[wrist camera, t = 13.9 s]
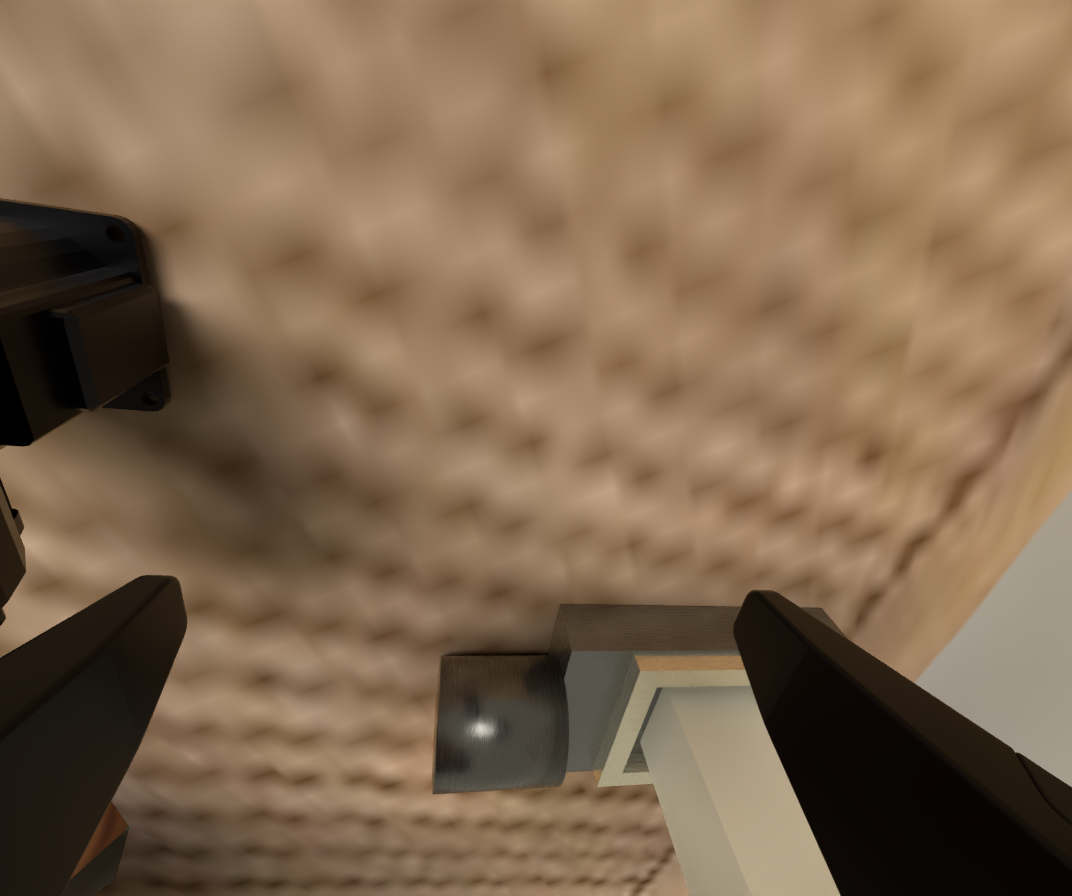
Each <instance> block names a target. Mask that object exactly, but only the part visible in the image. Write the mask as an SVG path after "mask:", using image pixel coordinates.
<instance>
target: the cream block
mask: <svg viewBox="0 0 1072 896" xmlns="http://www.w3.org/2000/svg"><path fill="white" fill-rule="evenodd" d="M640 744H641V747H642V750H643V753H644V756H645V759H646V762H647V765H648V769H649V772H650V775H651V778H652V781H653V784H654V787H655V790H656V793H657V796H658V799H659V802H660V806H661V809H662V812H663V815H664V818H665V821H666V824H667V827H668V830H669V833H670V836H671V839H672V842H673V846H674V849H675V852H676V855H677V858H678V861H679V864H680V867H681V870H682V873H683V876H684V879H685V883H686V886H687V889H688V892H689V895H690V896H840V894H839V891H838V889H837V887H836V885H835V882H834V880H833V878H832V876H831V873H830V871H829V869H828V867H827V864H826V862H825V860H824V858H823V855H822V853H821V851H820V849H819V847H818V844H817V842H816V840H815V838H814V835H813V833H812V831H811V829H810V826H809V824H808V822H807V820H806V817H805V815H804V813H803V811H802V808H801V806H800V804H799V802H798V799H797V797H796V795H795V793H794V790H793V788H792V786H791V784H790V781H789V779H788V777H787V775H786V773H785V770H784V768H783V766H782V764H781V761H780V759H779V757H778V755H777V752H776V750H775V748H774V746H773V743H772V741H771V739H770V737H769V734H768V732H767V729H766V727H765V725H764V722H763V719H762V717H761V714H760V711H759V709H758V706H757V703H756V700H755V697H754V694H753V691H752V688H751V686H708V687H663V688H662V690H661V693H660V695H659V697H658V700H657V702H656V705H655V707H654V709H653V712H652V714H651V717H650V719H649V721H648V724H647V726H646V729H645V731H644V733H643V736H642V738H641V741H640Z"/></svg>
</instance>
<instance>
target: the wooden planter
mask: <svg viewBox="0 0 1072 896" xmlns="http://www.w3.org/2000/svg"><path fill="white" fill-rule="evenodd" d="M128 829H129V826H128V824H127V823H126V822H125V820H124V819H123V817H122V816H121V815H120V813H119V812H118V810H117V809H116V808H115V806H114V805H113V803H112V802H110V804H109V806H108V808H107V810H106V812H105V814H104V816H103V817H102V819H101V821H100V823H99V825H98V827H97V829H96V831H95V833H94V835H93V836H92V838H91V840H90V842H89V844H88V846H87V848H86V850H85V852H84V854H83V856H82V857H81V859H80V861H79V863H78V865H77V867H76V869H75V871H74V873H73V875H72V876H71V878H70V880H69V882H68V884H67V886H66V888H65V890H64V892H63V894H62V895H61V896H94V895H95V894H97V893H98V892H99V891H101V890H102V889H103V888H105V887H106V886H107V885H109V884H110V883H111V882H113V881H114V880H115V877H116V874H117V870H118V866H119V863H120V859H121V855H122V851H123V848H124V844H125V840H126V837H127V833H128Z"/></svg>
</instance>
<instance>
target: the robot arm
mask: <svg viewBox="0 0 1072 896" xmlns="http://www.w3.org/2000/svg"><path fill="white" fill-rule="evenodd" d="M115 226H117V227H119V228H120V229H121V230H122V231H123V233H124V235H125V239H124V241H121V240H119V239H118V238H117V237H116V236H115V234H114V232H113V231H114V227H115ZM168 362H169V357H168V351H167V346H166V340H165V335H164V329H163V324H162V318H161V313H160V307H159V302H158V296H157V293H156V291H155V290H154V289H153V288H152V287H151V286H150V282H149V277H148V271H147V266H146V261H145V255H144V250H143V245H142V239H141V235H140V232H139V230H138V228H137V227H136V225H135V224H134V223H133V222H132V221H130V220H129V219H127V218H125V217H122V216H118V215H111V214H104V213H97V212H90V211H84V210H77V209H70V208H63V207H56V206H50V205H43V204H36V203H29V202H22V201H16V200H9V199H2V198H0V449H2V448H4V447H5V446H7V445H9V446H29V445H31V444H33V443H34V442H36V441H37V440H39V439H41V438H42V437H44V436H45V435H47V434H49V433H50V432H52V431H54V430H55V429H57V428H58V427H60V426H62V425H63V424H65V423H67V422H68V421H70V420H71V419H73V418H75V417H76V416H78V415H79V414H81V413H83V412H84V411H95V410H97V409H99V408H100V407H102V408H115V409H127V410H140V411H159V410H161V409H163V408H164V407H165V406H166V405H168V403H169V402H170V399H171V395H170V390H169V384H168V379H167V373H166V368H165V365H166V364H168ZM147 392H150V393H153V394H154V395H155V396H156V397H157V399H158V400H157V401H154V400H152V399H151V398H149V396H148V394H147ZM23 529H24V525H23V522H22V519H21V517H20V514H19V511H18V510H16V509H12V507H11V505H10V502H9V499H8V497H7V494H6V492H5V489H4V486H3V484H2V481H1V479H0V625H2V623H3V622H4V620H5V619H6V616H5V612H4V610H3V608H2V607H3V606H4V605H5V604H6V603H7V602H8V601H9V599H10V597H11V596H12V594H13V592H14V591H15V589H16V587H17V586H18V584H19V582H20V581H21V579H22V578H23V576H24V574H25V573H26V562H25V548H24V545H23V543H22V540H21V537H20V535H21V533H22V531H23ZM186 628H187V614H186V610H185V605H184V600H183V596H182V591H181V586H180V583H179V581H178V579H177V578H176V577H173V576H163V575H145V576H140V577H138V578H136V579H134V580H132V581H131V582H129V583H127V584H126V585H124V586H122V587H120V588H119V589H117V590H115V591H114V592H112V593H110V594H108V595H107V596H105V597H103V598H102V599H100V600H98V601H97V602H95V603H93V604H91V605H90V606H88V607H86V608H85V609H83V610H81V611H79V612H78V613H76V614H74V615H73V616H71V617H69V618H68V619H66V620H64V621H62V622H61V623H59V624H57V625H56V626H54V627H52V628H50V629H49V630H47V631H45V632H44V633H42V634H40V635H39V636H37V637H35V638H33V639H32V640H30V641H28V642H27V643H25V644H23V645H21V646H20V647H18V648H16V649H15V650H13V651H11V652H10V653H8V654H6V655H4V656H3V657H1V658H0V896H61V895H62V894H63V892H64V890H65V888H66V886H67V884H68V882H69V880H70V878H71V876H72V875H73V873H74V871H75V869H76V867H77V865H78V863H79V861H80V859H81V857H82V856H83V854H84V852H85V850H86V848H87V846H88V844H89V842H90V840H91V838H92V836H93V835H94V833H95V831H96V829H97V827H98V825H99V823H100V821H101V819H102V817H103V816H104V814H105V812H106V810H107V808H108V806H109V804H110V802H111V800H112V798H113V797H114V795H115V793H116V791H117V789H118V787H119V785H120V783H121V781H122V779H123V778H124V776H125V774H126V772H127V770H128V768H129V766H130V764H131V762H132V760H133V758H134V756H135V754H136V752H137V750H138V748H139V746H140V744H141V742H142V739H143V737H144V735H145V732H146V730H147V728H148V725H149V723H150V720H151V718H152V715H153V713H154V710H155V708H156V705H157V703H158V700H159V698H160V695H161V693H162V690H163V688H164V685H165V683H166V680H167V678H168V675H169V673H170V670H171V668H172V665H173V663H174V660H175V658H176V656H177V653H178V651H179V648H180V646H181V643H182V641H183V638H184V635H185V632H186ZM733 634H734V638H735V641H736V644H737V647H738V650H739V653H740V656H741V659H742V662H743V665H744V668H745V671H746V674H747V677H748V679H749V682H750V685H751V688H752V691H753V694H754V697H755V700H756V703H757V706H758V709H759V711H760V714H761V717H762V719H763V722H764V725H765V727H766V729H767V732H768V734H769V737H770V739H771V741H772V743H773V746H774V748H775V750H776V752H777V755H778V757H779V759H780V761H781V764H782V766H783V768H784V770H785V773H786V775H787V777H788V779H789V781H790V784H791V786H792V788H793V790H794V793H795V795H796V797H797V799H798V802H799V804H800V806H801V808H802V811H803V813H804V815H805V817H806V820H807V822H808V824H809V826H810V829H811V831H812V833H813V835H814V838H815V840H816V842H817V844H818V847H819V849H820V851H821V853H822V855H823V858H824V860H825V862H826V864H827V867H828V869H829V871H830V873H831V876H832V878H833V880H834V882H835V885H836V887H837V889H838V891H839V894H840V896H1072V787H1070V786H1069V785H1067V784H1066V783H1064V782H1063V781H1061V780H1060V779H1058V778H1056V777H1055V776H1053V775H1052V774H1050V773H1049V772H1047V771H1046V770H1044V769H1043V768H1041V767H1040V766H1038V765H1037V764H1035V763H1034V762H1032V761H1031V760H1029V759H1028V758H1026V757H1025V756H1023V755H1022V754H1020V753H1015V752H1014V750H1013V749H1012V748H1011V747H1009V746H1008V745H1007V744H1005V743H1003V742H1002V741H1001V740H999V739H998V738H996V737H995V736H993V735H992V734H990V733H988V732H987V731H985V730H984V729H982V728H981V727H979V726H978V725H976V724H975V723H973V722H972V721H970V720H969V719H967V718H966V717H964V716H963V715H961V714H960V713H958V712H957V711H955V710H953V709H952V708H951V707H949V706H948V705H946V704H945V703H943V702H942V701H940V700H939V699H937V698H936V697H934V696H932V695H931V694H930V693H928V692H927V691H925V690H923V689H922V688H921V687H919V686H918V685H916V684H915V683H913V682H912V681H910V680H908V679H907V678H905V677H904V676H902V675H901V674H899V673H898V672H896V671H895V670H893V669H892V668H890V667H889V666H887V665H886V664H884V663H883V662H881V661H880V660H878V659H877V658H875V657H874V656H872V655H871V654H869V653H868V652H866V651H865V650H863V649H862V648H860V647H859V646H857V645H856V644H854V643H853V642H851V641H850V640H848V639H847V638H845V637H844V636H842V635H841V634H839V633H838V632H836V631H835V630H833V629H832V628H830V627H829V626H827V625H826V624H824V623H823V622H821V621H820V620H818V619H817V618H815V617H814V616H812V615H810V614H809V613H807V612H806V611H804V610H803V609H801V608H800V607H798V606H797V605H795V604H794V603H792V602H791V601H789V600H788V599H786V598H785V597H783V596H782V595H780V594H779V593H777V592H775V591H772V590H752V591H750V592H749V593H748V594H747V596H746V598H745V600H744V602H743V604H742V606H741V608H740V610H739V613H738V615H737V617H736V619H735V621H734V625H733Z"/></svg>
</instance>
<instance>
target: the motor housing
mask: <svg viewBox="0 0 1072 896" xmlns="http://www.w3.org/2000/svg"><path fill="white" fill-rule="evenodd" d="M740 608H741V607H709V606H643V605H577V604H560V608H559V612H558V616H557V620H556V625H555V629H554V633H553V637H552V641H551V645H550V649H549V653H548V655H538V656H441V657H440V663H439V673H438V684H437V696H436V711H435V726H434V745H433V768H432V794H448V793H465V792H482V791H499V790H516V789H533V788H550V787H559V786H560V785H561V784H562V782H563V780H564V777H565V773H566V772H576V771H593V772H594V776H595V780H596V785H597V787H606V786H623V785H640V784H653V781H652V778H651V775H650V772H649V769H648V765H647V762H646V759H645V756H644V753H643V750H642V747H641V744H640V741H641V738H642V736H643V733H644V731H645V729H646V726H647V724H648V721H649V719H650V717H651V714H652V712H653V709H654V707H655V705H656V702H657V700H658V697H659V695H660V693H661V690H662V688H663V687H708V686H751V685H750V682H749V679H748V677H747V674H746V671H745V668H744V665H743V662H742V659H741V656H740V653H739V650H738V647H737V644H736V641H735V638H734V634H733V625H734V621H735V619H736V617H737V615H738V613H739V610H740ZM801 609H803V610H804V611H806V612H807V613H809V614H810V615H812V616H814V617H815V618H817V619H818V620H820V621H821V622H823V623H824V624H826V625H827V626H829V627H830V628H832V629H833V630H835V631H836V632H838V633H839V634H841V635H842V636H844V637H845V638H847V637H846V636H845V635H844V634H843V633H842V632H841V630H840V629H839V628H838V627H837V626H836V625H835V623H834V622H833V621H832V620H831V619H830V617H829V616H828V615H827V614H826V613H825V612H824V610H823V609H822V608H801Z"/></svg>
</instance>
